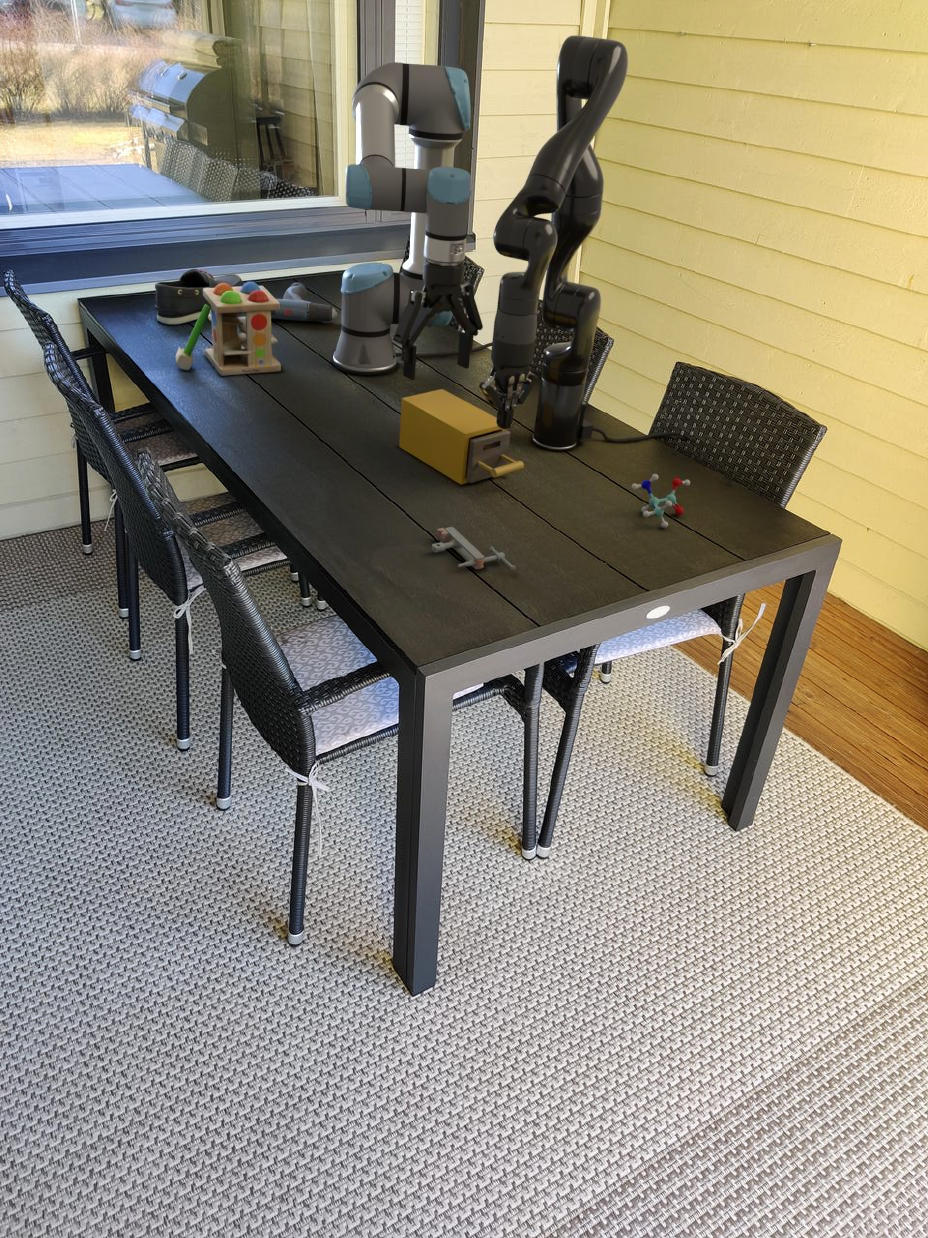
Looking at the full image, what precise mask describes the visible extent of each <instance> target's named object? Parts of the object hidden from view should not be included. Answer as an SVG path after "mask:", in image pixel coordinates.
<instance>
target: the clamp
mask: <svg viewBox="0 0 928 1238" xmlns="http://www.w3.org/2000/svg"><path fill="white" fill-rule="evenodd" d="M436 541H439V542H436V543H432V544H431V551H432V552H433V553H435V554H437V553H441V552H445V551H446V550H447V549H451V548H453V549H454V550H455V551H456V552H457V553H458V554H459V555H460V556H461V557H462V558H463V559H464V560H465V562H462V563H459V564H457V567H458V568H462V567H472V568H473V569H475V570H480V569H483V568H484V563H488V562H492V561H496V562H499V561H502V562H503V563H504V564H505V565H506V566H507V567H508V568H509V569H510V571H511V572H514V571H515V570H516V568H517V567H516V565H514V564H511V563H510V562H509V561H508V560H507V559H506V554H505V552H503V551H501V552H498V551H497V550H495V547H494V546H490V547H489V549H488V551H489V552H490V553H493V554H494V555H491V556H486V557H485V556H484V554H482V553H481V551H479V550H478V549H477V548H476V547H475V546H474V545H473V544H472V543H471V542H470V541H469V540H467V538H466V537H464V535H462V534H461V533H460V532H459V531H458V530H457V529H456V528H455V527H454V526H448V527H445V528H444V527H440V528H437V529H436Z"/></svg>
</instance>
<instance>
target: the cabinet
mask: <svg viewBox="0 0 928 1238" xmlns="http://www.w3.org/2000/svg"><path fill="white" fill-rule="evenodd" d="M400 404H401V406H400V408H401V409H400V422H399V423H400V425H399V444H398V445H399V446H398V447H399V448H401V449H402V450H403V451H405V452H407V453H408V454H410V455H412V456H413V457H415V458H417V459H419V460H420V461H422V462H423V463H425V464H426V465H428V466H430V467H431V468H433V469H435V470H437V471H438V472H440V473H441V474H443V475H444V476H445V477H448V478H449V479H451V480H453V481H454V482H455V483H457V484H459V485H465V484H467V483H469V482H467V481H466V480H467V474H466V465H467V454H468V443H469V438H470V437H474V436H478V435H481V434H485V433H489V432H492V431H496V430H497V433H498V432H502V431H505V430H507V429H502V428H500V427H498V425H497V423H496V420H497V416H494V415H492V414H491V413H489V412H487V411H485V410H483V409H481V408H479V407H478V406H475V405H473V404H471V403H470V402H468V401H465V399H462V398H461V397H459V396H456V395H454V394H452V393H451V392H449V391H447V390H445V389H443V388H441V389H436V390H432V391H428V392H422V393H418V394H414V395H410V396H409V395H408V396H405V397H401V403H400Z"/></svg>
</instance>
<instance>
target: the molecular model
mask: <svg viewBox="0 0 928 1238" xmlns="http://www.w3.org/2000/svg"><path fill="white" fill-rule="evenodd" d="M657 480H659V475H658V474H657V473H653V474H652V475H651V478H649V480H648V479H646V480H643V481H642V482H641V483H639V484H637V483H632V485H631V489H632V490H633V491H637V490H638V489H639V488H640V489H641V488H642V489H643V490H646V491H647V494H648V496H649V501H648V505H646V506H642V507H641V509H640V510H641V513H642V517H644V518H647V519H648V518H649V517H650V516H655V517H657V518H659V519H660V522H661V523H660V525H661V527H662V528H663V529H666V528H668V526H669V523H668V521H666V520H665V518H664V516H663V515H664V513H665V510H666V509H667V508H671V507H672V508H673V509H674V513H675V515H676V516H682V515H683V514H684V512H685V511H684V508H683V507H681V506H680V505H679V504H678V502H677V497H676V495H675V494H676V490H677V488H678V487H679V486H681V485H683V486H685V487H689V486H690V484H691V480H689V479H685V480H681V479H680V478H678V477H675V478H673V479H672V480H671V485H672V489H671V492H670V493H669V494H667V495H666V497H664V498H658V497H656V496H654V495H653V492H652V490H651V487H652V483H653V482H654V481H657ZM660 503H664V505H663V506H662V507H661V506H659V504H660ZM651 507H652V508H654V510H653V511H649V509H650V508H651Z"/></svg>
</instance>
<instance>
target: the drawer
mask: <svg viewBox="0 0 928 1238" xmlns="http://www.w3.org/2000/svg"><path fill="white" fill-rule="evenodd" d="M510 441H511V431H509V430H507V429H506V430H505V431H502V432H498V433H497V430H496V431H492V432H489V433H485V434H481V435H478V436H474V437H470V438H469V443H468V454H467V465H466V474H467V480H466V481H467V482H468V483H469V484H473V483H477V482H479V481H482V480H486V479H489V478H494V479H496V478H498V477H503V476H505V475H509V474H513V473H515V472H518V471H521V470H524V468H525V464H524V462H523V461H522V460H517V461H516V460H514V459H512V458H511V457H509V448H510Z"/></svg>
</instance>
